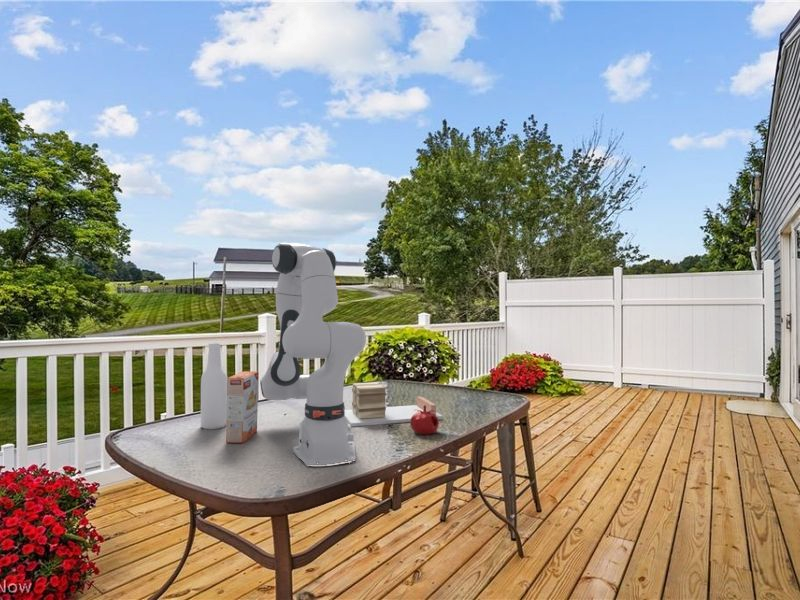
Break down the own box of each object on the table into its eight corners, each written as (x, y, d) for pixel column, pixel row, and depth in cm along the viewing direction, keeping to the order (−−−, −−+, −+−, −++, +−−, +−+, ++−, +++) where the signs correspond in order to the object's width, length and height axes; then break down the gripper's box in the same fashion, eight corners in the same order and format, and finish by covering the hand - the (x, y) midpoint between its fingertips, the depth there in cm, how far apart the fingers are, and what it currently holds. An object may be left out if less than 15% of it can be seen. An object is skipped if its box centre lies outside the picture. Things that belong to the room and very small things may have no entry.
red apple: (410, 436, 154) (410, 408, 154) (410, 428, 164) (410, 402, 164) (439, 437, 154) (439, 409, 154) (437, 428, 164) (438, 402, 164)
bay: (442, 419, 176) (442, 405, 176) (351, 426, 165) (351, 412, 165) (424, 407, 195) (424, 395, 195) (340, 413, 184) (340, 400, 184)
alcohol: (204, 423, 167) (204, 341, 167) (229, 422, 169) (229, 341, 169) (197, 430, 159) (198, 344, 159) (224, 429, 160) (225, 343, 160)
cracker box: (244, 443, 145) (244, 377, 144) (225, 443, 145) (225, 377, 145) (258, 431, 159) (259, 370, 158) (241, 430, 159) (241, 370, 159)
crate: (385, 416, 173) (386, 387, 173) (358, 418, 170) (359, 389, 170) (377, 409, 185) (377, 382, 185) (351, 411, 182) (352, 383, 182)
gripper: (309, 384, 160) (348, 382, 165) (303, 373, 180) (337, 371, 184) (309, 401, 161) (347, 399, 165) (302, 389, 180) (337, 387, 184)
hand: (342, 384), depth 175 cm, fingers closed
